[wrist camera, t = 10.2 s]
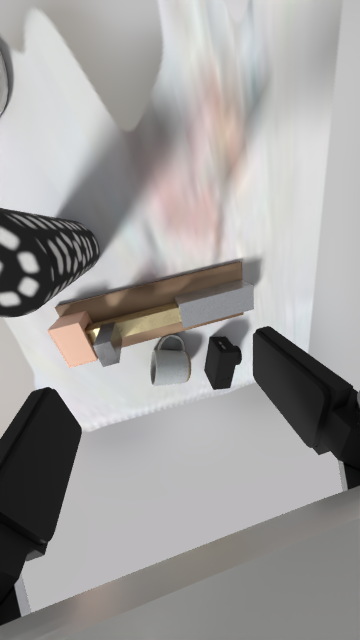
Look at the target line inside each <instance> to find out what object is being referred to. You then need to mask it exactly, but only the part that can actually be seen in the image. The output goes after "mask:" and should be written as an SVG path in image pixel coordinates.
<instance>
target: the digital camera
mask: <svg viewBox="0 0 360 640" xmlns="http://www.w3.org/2000/svg"><path fill="white" fill-rule="evenodd" d="M241 360H242V354H241V350H240V348H239V347H238V346H233V345H232V344H231V342H230V341H229V340H228V339H227V338H226V337H210V338H209V344H208V350H207V357H206V363H205V369H204V371H205V373H206V375H207V377H208V380H209V382H210V384H211V386H212V388H213V390H216V389H226V388H230V386H231V382H232V378H233V374H234V370H235V366H236V365H239V364H240V363H241Z"/></svg>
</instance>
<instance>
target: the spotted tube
mask: <svg viewBox="0 0 360 640" xmlns="http://www.w3.org/2000/svg"><path fill="white" fill-rule="evenodd" d="M98 257H99V246H98V242H97V240H96V238H95V236H94V235H93V234H92V232H91V231H90V230H89V229H88V228H87V227H85V226H84V225H82V224H80V223H78V222H75V221H71V220H66V219H60V218H54V217H48V216H43V215H37V214H31V213H25V212H20V211H14V210H8V209H2V208H0V317H19V316H23V315H27V314H29V313H31V312H34V311H36V310H37V309H39V308H40V307H41V306H42V305H44V304H45V303H46V302H48V301H49V300H50V299H52V298H53V297H54V296H56V295H57V294H58V293H59V292H61V291H62V290H63V289H65V288H66V287H67V286H69V285H70V284H71V283H72V282H74V281H75V280H76V279H78V278H79V277H80V276H82V275H83V274H84V273H86V272H87V271H88V270H89V269H91V268H92V267H93V266H94V265H95V264H96V262H97V260H98Z"/></svg>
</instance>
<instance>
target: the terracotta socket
mask: <svg viewBox="0 0 360 640" xmlns="http://www.w3.org/2000/svg"><path fill="white" fill-rule="evenodd" d="M89 324H93V323H92V321H91V319H90V317H89V315H88V313H87V311H82V312H78V313H74V314H70V315H66V316H62V317H59V319H58V320H57V321H56V322H55V323H54V324H53V325H52V326H51V327H50V328H49V329H48V330H47V331H48V333H49V335H50V336H51V338H52V339H53V341H54V343H55V344H56V346H57V348H58V349H59V351H60V353H61V354H62V356H63V358H64V359H65V361H66V363H67V364H68V366H69V368H71V367H75V366H78V365H82V364H86V363H89V362H93V361H96V360H97V359H98V356H97V354H96V352H95V349H94V347H93V345H91V343H90V341H89V339H88V337H87V335H86V332H85V330H84V329H85V327H86V326H87V325H89Z"/></svg>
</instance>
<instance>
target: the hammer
mask: <svg viewBox="0 0 360 640" xmlns="http://www.w3.org/2000/svg"><path fill="white" fill-rule="evenodd" d="M178 322H182V321H181V316H180V311H179V306H178V305H177V303H176V302H175V303H171V304H167V305H163V306H159V307H155V308H151V309H147V310H144V311H140V312H136V313H132V314H128V315H124V316H120V317H116V318H112V319H108V320H104V321H101V322H97V323H93V324H89V325H87V326H86V327H85V329H84V330H85V332H86V335H87V337H88V339H89V341H90V343H91V345H93V347H94V349H95V352H96V354H97V356H98V358H99V360H100V362H101V364H102V366H103V367H105V366H109V365H112V364H116V363H119V360H120V353H121V346H122V337H125V336H129V335H133V334H137V333H140V332H144V331H148V330H152V329H155V328H159V327H163V326H167V325H170V324H174V323H178Z"/></svg>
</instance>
